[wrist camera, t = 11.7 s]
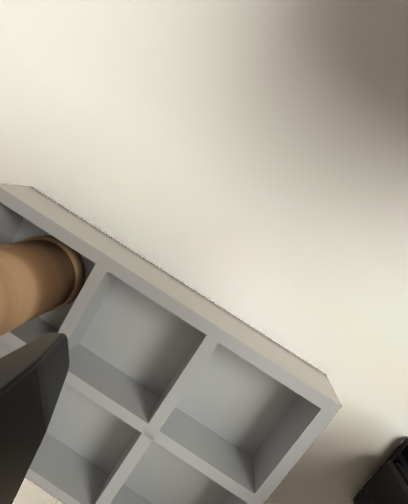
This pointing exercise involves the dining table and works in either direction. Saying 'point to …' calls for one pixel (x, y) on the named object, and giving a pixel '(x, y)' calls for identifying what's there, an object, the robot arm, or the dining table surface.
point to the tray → (159, 382)
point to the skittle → (37, 279)
